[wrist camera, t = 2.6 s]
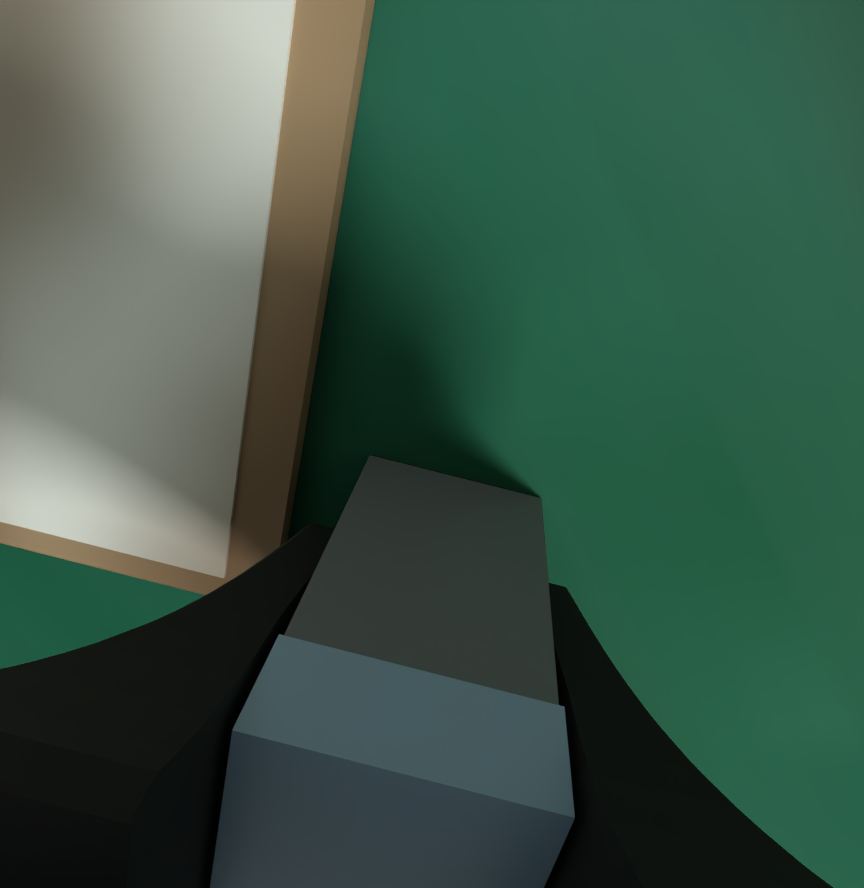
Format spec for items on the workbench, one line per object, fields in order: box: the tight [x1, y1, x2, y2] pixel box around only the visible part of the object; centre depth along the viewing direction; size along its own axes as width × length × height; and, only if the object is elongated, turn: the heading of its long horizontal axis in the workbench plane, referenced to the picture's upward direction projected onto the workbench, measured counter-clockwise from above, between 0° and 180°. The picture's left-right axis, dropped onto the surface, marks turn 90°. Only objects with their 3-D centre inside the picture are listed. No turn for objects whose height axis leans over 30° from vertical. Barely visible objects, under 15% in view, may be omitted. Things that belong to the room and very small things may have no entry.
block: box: [210, 455, 575, 888], centre depth 11 cm, size 4×4×7 cm
